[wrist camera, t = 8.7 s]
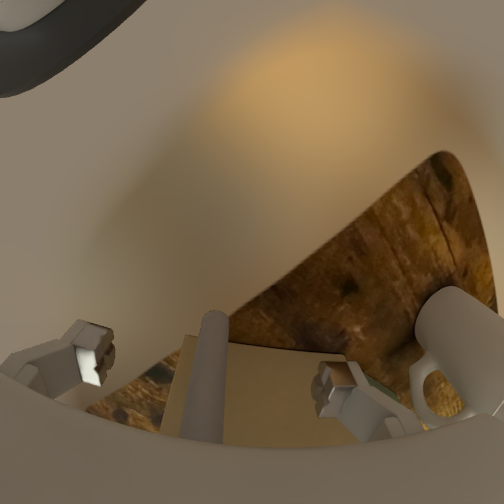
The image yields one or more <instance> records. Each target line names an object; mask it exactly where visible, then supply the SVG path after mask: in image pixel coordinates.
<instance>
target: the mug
mask: <svg viewBox="0 0 504 504" xmlns="http://www.w3.org/2000/svg"><path fill="white" fill-rule="evenodd" d="M415 337H416V339H417V341H418V342H419V344H420V345H421V346H422V347H423V349H424V350H425V351H426V352H425V354H424V355H423V357H422V358H421V359H420V360H418V361H417V362H416V363H414V364H413V365H411V366H410V368H409V378H410V390H411V400H412V404H413V407H414V410H415V412H416V414H417V416H418V418H419V419H420V420H421V421H422V422H423V423H424V424H425V425H426V426H427V427H429V428H430V429H434V428H438V427H442V426H445V425H448V424H452V423H455V422H458V421H461V420H464V419H467V418H470V417H472V416H475V415H478V414H481V413H487V414H490V415H492V416H494V417H496V418H498V419H500V420H501V421H503V422H504V319H503V318H502V317H500V316H499V315H498V314H496V313H495V312H494V311H492V310H491V309H489V308H488V307H487V306H485V305H484V304H482V303H481V302H480V301H478V300H477V299H475V298H474V297H472V296H471V295H469V294H468V293H466V292H465V291H463V290H461V289H460V288H458V287H455V286H448V287H445V288H442V289H440V290H439V291H437V292H436V293H434V294H433V295H432V296H431V297H430V298H429V299H428V300H427V302H426V303H425V304H424V306H423V307H422V309H421V311H420V312H419V315H418V317H417V320H416V324H415ZM434 370H439V371H441V372H442V374H443V375H444V376H445V377H446V379H447V380H448V381H449V383H450V384H451V386H452V387H453V388H454V390H455V391H456V392H457V394H458V395H459V397H460V398H461V400H462V401H463V402H464V404H465V405H464V408H463V409H462V410H461V411H460V412H459V413H458V414H457V415H455V416H452V417H443V416H439V415H437V414H435V413H434V412H433V411H431V410H430V408H429V407H428V405H427V404H426V401H425V399H424V395H423V382H424V379H425V377H426V376H427V375H428V374H429V373H431V372H432V371H434Z"/></svg>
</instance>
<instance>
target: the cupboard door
mask: <svg viewBox="0 0 504 504" xmlns="http://www.w3.org/2000/svg"><path fill="white" fill-rule="evenodd" d="M228 336H229V319H228V317H227V315H225V314H224V313H223V312H221V311H217V310H213V311H209V312H208V313H206V314H205V315H204V317H203V320H202V324H201V329H200V334H199V337H196V336H190V335H185V339H184V342H183V345H182V349H181V352H180V356H179V359H178V363H177V367H176V370H175V374H174V377H173V381H172V385H171V388H170V392H169V396H168V400H167V403H166V407H165V411H164V415H163V419H162V423H161V427H160V431H159V434H163V435H167V436H172V437H178V438H183V439H189V440H195V441H202V442H209V443H217V444H226V445H237V446H250V447H273V448H303V447H325V446H338V445H349V444H358V443H361V442H360V441H359V440H358V439H357V438H356V437H355V436H354V435H353V434H352V433H351V432H350V431H349V430H348V429H347V428H346V427H345V426H344V425H343V424H342V423H341V422H340V421H339V420H338V418H318V417H317V413H316V410H315V404H316V401H315V400H314V399H313V398H312V395H311V384H312V381H313V378H314V376H316V375H317V374H318V373H319V372H318V369H317V368H318V366H319V364H320V362H321V361H340V362H344V361H346V359H345V357H344V355H341V354H326V353H313V352H302V351H292V350H283V349H274V348H266V347H258V346H251V345H244V344H237V343H231V342H228Z"/></svg>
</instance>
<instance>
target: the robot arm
mask: <svg viewBox="0 0 504 504" xmlns="http://www.w3.org/2000/svg"><path fill="white" fill-rule="evenodd" d="M64 1H65V0H0V31H6V32H14V31H18V30H21V29H23V28H25V27H28V26H29V25H31V24H33V23H35V22H36V21H38V20H39V19H41V18H43V17H44V16H45V15H47V14H48V13H50V12H51V11H52V10H54V9H55V8H56V7H58V6H59V5H60V4H61V3H63V2H64ZM113 339H114V335H113V330H112V329H110V328H107V327H104V326H100V325H97V324H94V323H89V322H86V321H84V320H77V321H76V322H75V323H74V324H73V325H72V326H71V327H70V329H69V330H68V331H67V332H66V333H65V334H64V335H63V337H62V338H61V339H60V340H58V339H55V340H52V341H50V342H46V343H43V344H40V345H37V346H34V347H31V348H28V349H25V350H22V351H19V352H15V353H12V354H11V355H10V356H9V357H8V358H7V359H6V360H5V361H4V362H3V363H2V365H1V366H0V504H504V422H503V421H501V420H500V419H498V418H496V417H494V416H492V415H490V414H487V413H481V414H478V415H475V416H472V417H470V418H467V419H464V420H461V421H458V422H455V423H452V424H448V425H445V426H442V427H438V428H434V429H431V430H427V431H424V429H423V427H422V425H421V423H420V422H419V420H418V418H417V417H416V415H415V413H414V412H412V411H411V410H409V409H408V408H406V407H404V406H403V405H401V404H400V403H398V402H397V401H395V400H394V399H392V398H390V397H389V396H387V395H386V394H384V393H383V392H381V391H380V390H378V389H377V388H375V387H374V386H370V385H369V383H368V381H367V379H366V377H365V375H364V374H363V372H362V370H361V368H360V366H359V364H358V363H357V362H356V361H344V362H340V361H321V362H320V364H319V366H318V368H317V369H318V372H319V373H318V374H317V375H316V376H314V378H313V381H312V384H311V395H312V398H313V399H314V400H315V401H316V404H315V410H316V413H317V417H318V418H338V420H339V421H340V422H341V423H342V424H343V425H344V426H345V427H346V428H347V429H348V430H349V431H350V432H351V433H352V434H353V435H354V436H355V437H356V438H357V439H358V440H359V441H360V442H361V443H358V444H349V445H338V446H325V447H303V448H273V447H250V446H237V445H226V444H217V443H209V442H202V441H195V440H189V439H183V438H178V437H172V436H167V435H163V434H158V433H154V432H149V431H145V430H141V429H137V428H134V427H130V426H126V425H123V424H119V423H116V422H113V421H110V420H106V419H103V418H100V417H97V416H94V415H92V414H89V413H86V412H83V411H81V410H78V409H75V408H73V407H70V406H68V405H65V404H63V403H61V402H58V401H56V400H54V399H55V398H56V397H58V396H60V395H62V394H63V393H65V392H67V391H68V390H70V389H72V388H73V387H75V386H76V385H78V384H80V383H81V382H82V381H84V382H86V383H90V384H93V385H96V386H100V387H101V386H102V384H103V382H104V381H105V379H106V377H107V373H106V371H107V370H109V369H111V367H112V366H113V363H114V359H115V346H114V345H113V344H112V342H111V341H112V340H113Z"/></svg>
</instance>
